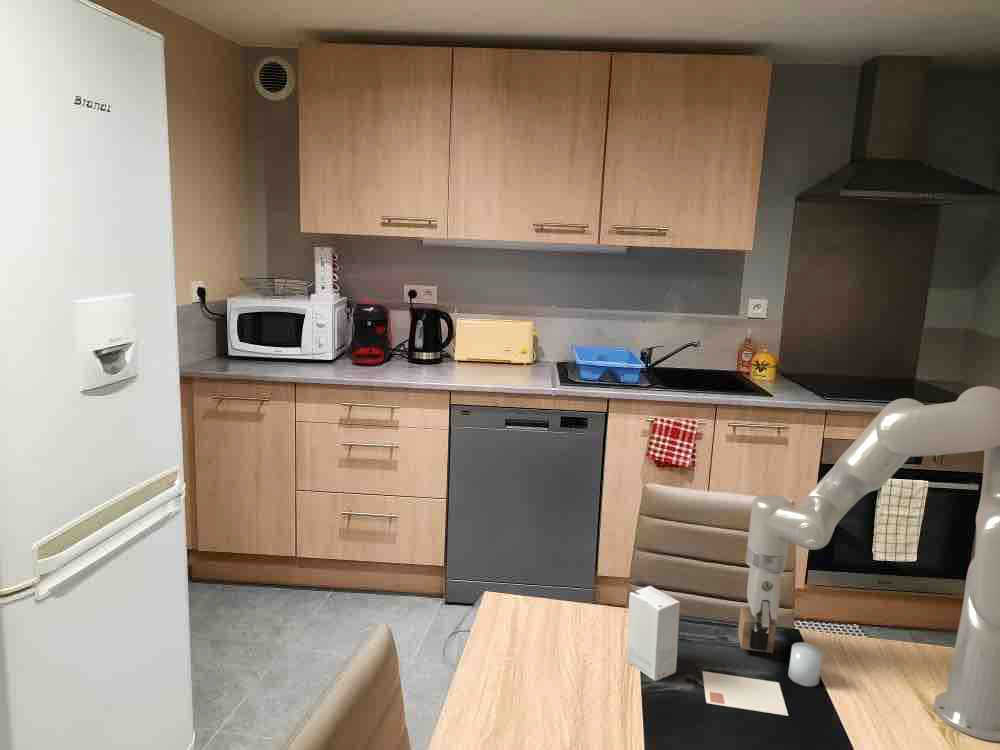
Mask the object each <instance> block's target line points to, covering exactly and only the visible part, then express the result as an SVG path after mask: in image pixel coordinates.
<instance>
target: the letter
mask: <svg viewBox="0 0 1000 750" xmlns="http://www.w3.org/2000/svg"><path fill="white" fill-rule="evenodd" d="M701 673H702V680H703V687H704V695H705V696H704V697H705V702H706V704H711V705H715V706H716V705H717V706H721V707H722V706H724V707H727V708H735V709H736V708H737V709H741V710H748V711H756V712H759V713H761V712H762V713H768V714H769V713H770V714H774V715H781V716H787V717H788V716H789V714H788V709H787V706H786V703H785V699H784V696H783V695H784V694H783V692H782V689H781V685H780V682H777V681H771V680H766V679H765V680H764V679H759V678H751V677H743V676H736V675H730V674H725V673H717V672H710V671H703V670H702V672H701Z"/></svg>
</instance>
